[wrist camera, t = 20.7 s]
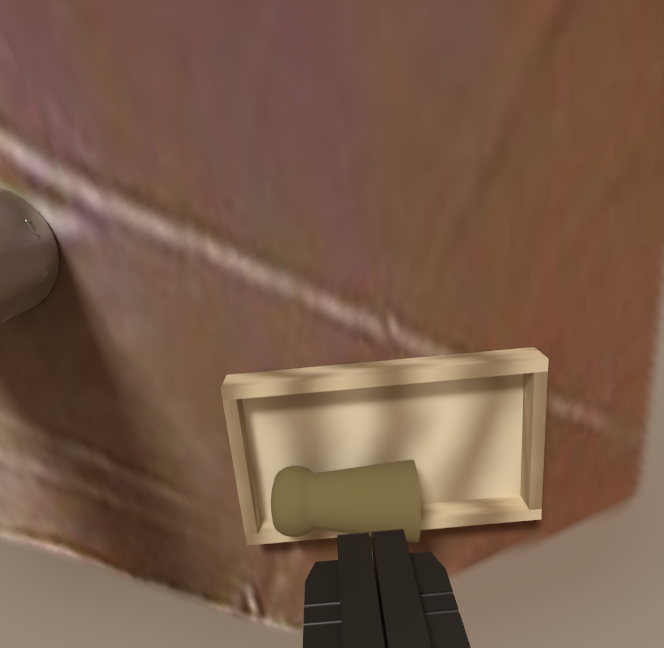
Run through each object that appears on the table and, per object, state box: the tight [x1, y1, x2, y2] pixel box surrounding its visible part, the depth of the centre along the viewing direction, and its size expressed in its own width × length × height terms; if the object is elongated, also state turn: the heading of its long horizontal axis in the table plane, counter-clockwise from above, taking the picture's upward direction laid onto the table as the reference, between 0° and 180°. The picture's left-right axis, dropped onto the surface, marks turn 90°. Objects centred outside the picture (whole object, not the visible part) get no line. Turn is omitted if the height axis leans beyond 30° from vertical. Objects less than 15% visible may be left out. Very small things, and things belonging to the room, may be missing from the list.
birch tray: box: [221, 347, 548, 545], centre depth 40 cm, size 24×14×2 cm, turn 95°
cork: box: [271, 459, 421, 543], centre depth 38 cm, size 6×6×11 cm
